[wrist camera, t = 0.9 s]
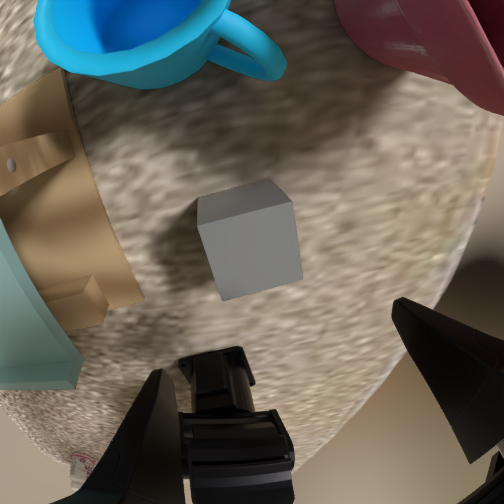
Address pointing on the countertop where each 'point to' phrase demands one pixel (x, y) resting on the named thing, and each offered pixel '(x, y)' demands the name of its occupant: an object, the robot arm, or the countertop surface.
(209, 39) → the mug
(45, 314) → the trapdoor
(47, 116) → the frame
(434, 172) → the countertop surface
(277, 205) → the gray cube
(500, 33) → the plant pot
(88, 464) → the pill bottle
